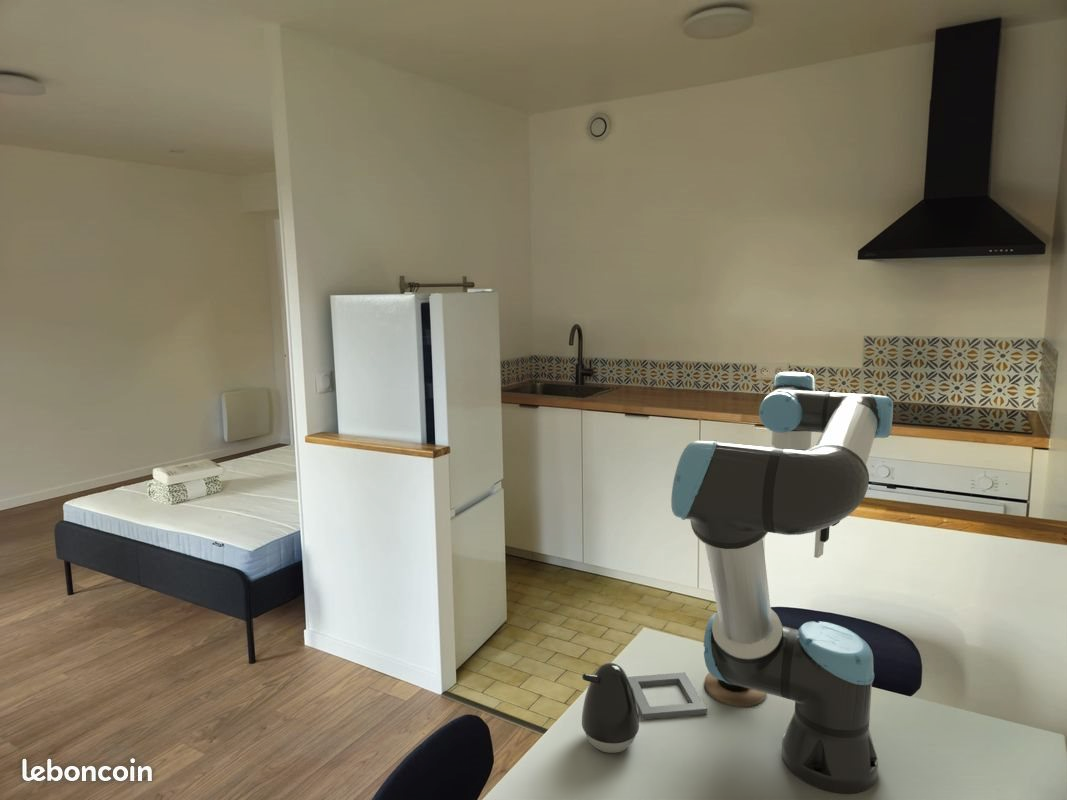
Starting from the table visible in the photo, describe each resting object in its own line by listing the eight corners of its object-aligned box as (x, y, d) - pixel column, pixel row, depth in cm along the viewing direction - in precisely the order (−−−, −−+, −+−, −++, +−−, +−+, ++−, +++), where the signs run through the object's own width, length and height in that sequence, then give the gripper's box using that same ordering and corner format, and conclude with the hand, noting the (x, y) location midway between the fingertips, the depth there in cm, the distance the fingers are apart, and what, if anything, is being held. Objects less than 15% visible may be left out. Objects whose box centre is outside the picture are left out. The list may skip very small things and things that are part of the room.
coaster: (776, 703, 136) (777, 699, 135) (717, 708, 134) (717, 704, 134) (750, 670, 147) (750, 666, 147) (696, 674, 146) (696, 670, 146)
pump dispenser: (572, 731, 128) (572, 655, 125) (624, 720, 131) (624, 646, 128) (593, 767, 118) (593, 686, 116) (648, 755, 121) (650, 675, 119)
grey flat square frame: (706, 714, 133) (707, 708, 132) (642, 719, 131) (642, 714, 131) (684, 677, 145) (685, 672, 145) (626, 682, 143) (626, 677, 143)
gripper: (861, 454, 135) (854, 557, 139) (742, 436, 152) (738, 528, 156) (847, 461, 130) (840, 568, 134) (725, 442, 147) (722, 537, 150)
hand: (785, 547), depth 145 cm, fingers open, 13 cm apart
